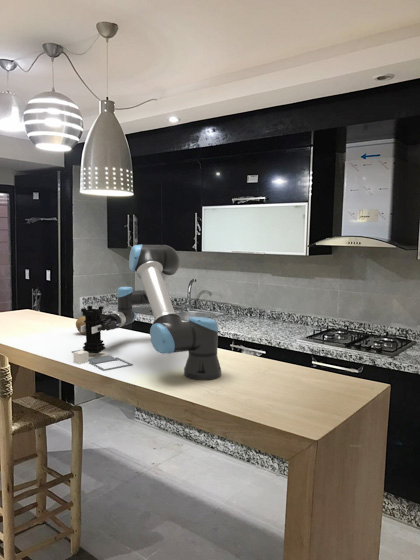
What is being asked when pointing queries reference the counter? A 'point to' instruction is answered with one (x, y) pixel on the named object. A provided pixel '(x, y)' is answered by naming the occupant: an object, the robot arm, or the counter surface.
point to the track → (99, 357)
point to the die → (80, 356)
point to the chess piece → (91, 320)
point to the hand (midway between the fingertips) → (87, 329)
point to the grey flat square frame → (113, 367)
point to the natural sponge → (80, 324)
